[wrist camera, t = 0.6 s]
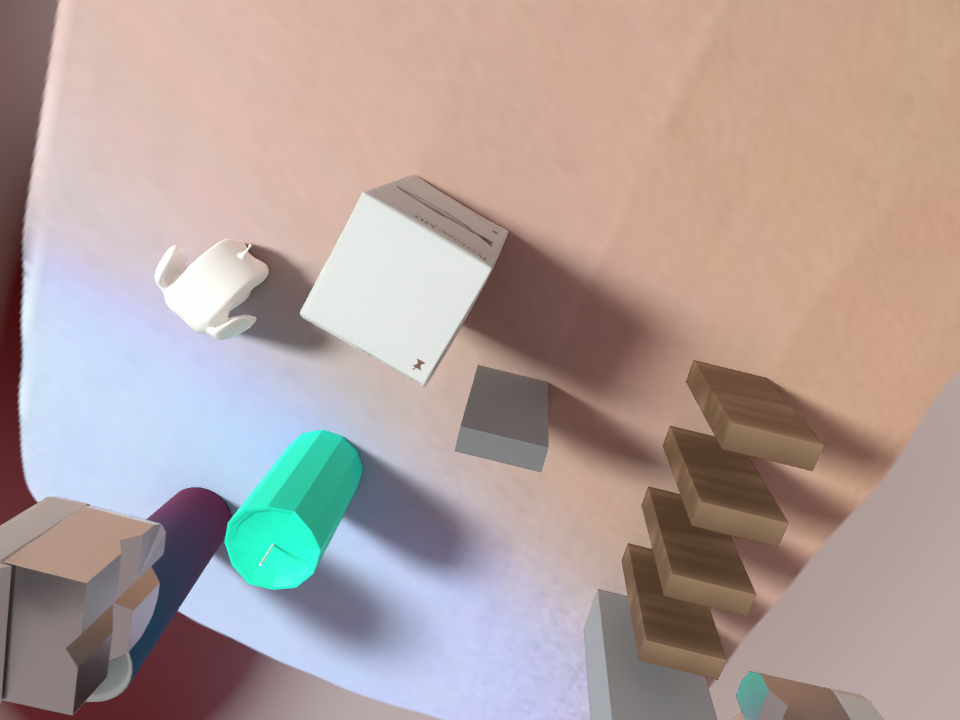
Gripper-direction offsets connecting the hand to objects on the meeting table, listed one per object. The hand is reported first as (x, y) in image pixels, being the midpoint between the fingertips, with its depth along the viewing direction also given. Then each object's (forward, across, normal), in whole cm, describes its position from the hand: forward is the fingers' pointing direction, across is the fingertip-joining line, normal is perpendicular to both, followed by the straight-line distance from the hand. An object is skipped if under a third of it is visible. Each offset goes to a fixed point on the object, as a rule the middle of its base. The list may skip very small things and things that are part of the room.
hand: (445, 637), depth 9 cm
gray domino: (+37, -2, +6) cm, 38 cm away
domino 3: (+38, -16, +12) cm, 43 cm away
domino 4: (+38, -16, +17) cm, 45 cm away
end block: (+39, -16, +23) cm, 48 cm away
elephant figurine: (+37, +18, +3) cm, 42 cm away
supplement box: (+37, +5, -2) cm, 37 cm away
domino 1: (+37, -16, +2) cm, 40 cm away
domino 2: (+37, -16, +7) cm, 41 cm away
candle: (+39, +10, +16) cm, 43 cm away
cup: (+39, +19, +23) cm, 50 cm away
